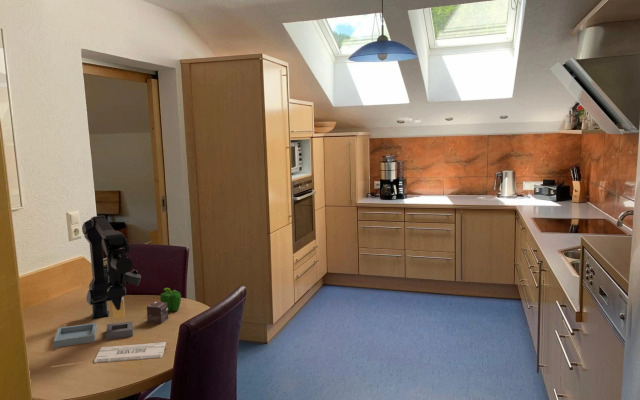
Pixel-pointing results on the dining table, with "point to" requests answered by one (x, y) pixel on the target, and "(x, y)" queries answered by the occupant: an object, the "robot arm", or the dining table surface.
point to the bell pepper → (171, 299)
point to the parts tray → (75, 335)
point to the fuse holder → (119, 330)
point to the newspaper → (130, 352)
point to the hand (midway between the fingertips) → (118, 308)
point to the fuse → (119, 311)
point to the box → (157, 312)
